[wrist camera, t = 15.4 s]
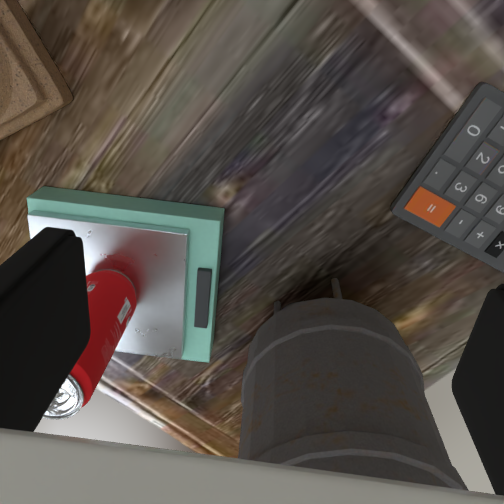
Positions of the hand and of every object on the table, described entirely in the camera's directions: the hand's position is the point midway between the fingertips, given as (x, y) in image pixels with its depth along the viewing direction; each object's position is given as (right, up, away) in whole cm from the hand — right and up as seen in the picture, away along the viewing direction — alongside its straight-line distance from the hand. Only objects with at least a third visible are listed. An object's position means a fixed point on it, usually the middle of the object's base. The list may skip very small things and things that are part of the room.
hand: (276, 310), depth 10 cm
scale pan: (-13, -2, +29) cm, 32 cm away
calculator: (+20, +6, +27) cm, 34 cm away
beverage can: (-13, -2, +29) cm, 32 cm away
